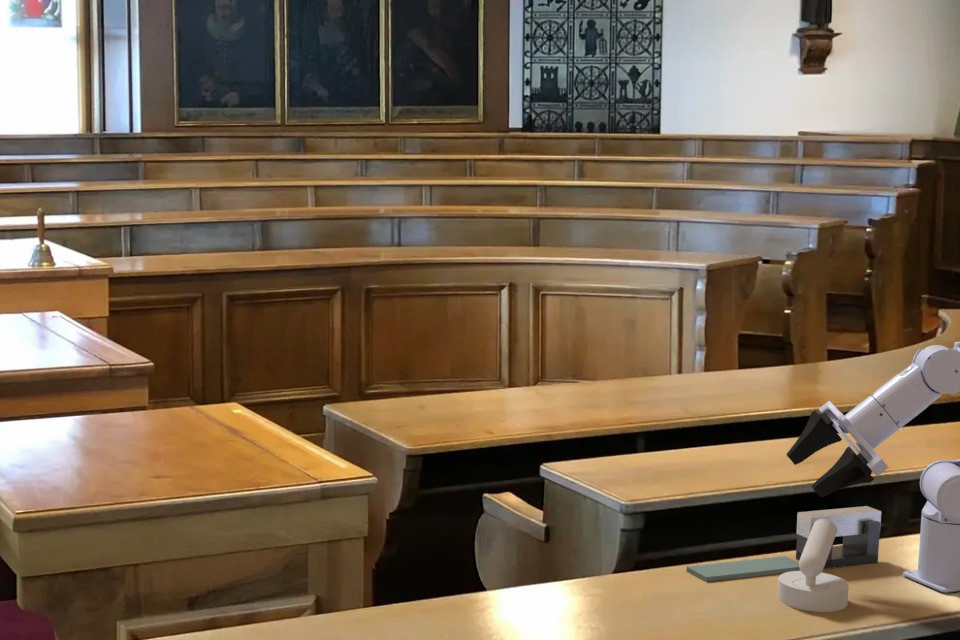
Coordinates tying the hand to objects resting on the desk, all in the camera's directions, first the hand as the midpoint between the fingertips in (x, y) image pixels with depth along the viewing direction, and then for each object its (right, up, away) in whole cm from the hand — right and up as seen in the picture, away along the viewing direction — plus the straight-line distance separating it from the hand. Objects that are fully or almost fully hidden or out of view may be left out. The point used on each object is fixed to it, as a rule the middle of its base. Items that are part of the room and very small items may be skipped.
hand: (802, 475), depth 170 cm
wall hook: (-1, -15, -9) cm, 17 cm away
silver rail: (+7, -9, +8) cm, 14 cm away
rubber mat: (-7, -13, +2) cm, 15 cm away
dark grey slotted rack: (+7, -13, +8) cm, 17 cm away
